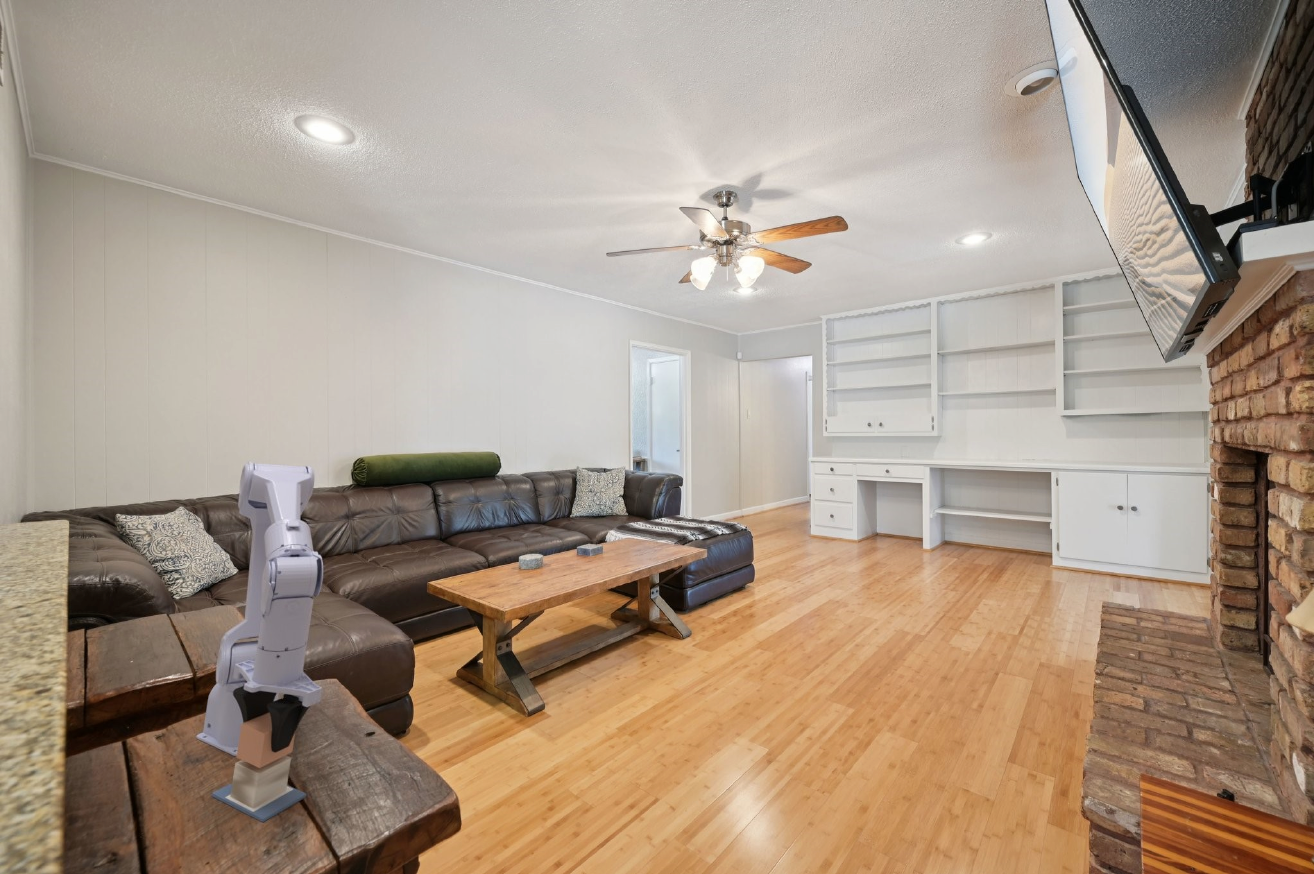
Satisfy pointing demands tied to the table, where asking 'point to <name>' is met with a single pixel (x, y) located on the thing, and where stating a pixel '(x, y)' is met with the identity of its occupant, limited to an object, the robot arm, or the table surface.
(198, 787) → the table surface
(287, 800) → the blue flat board
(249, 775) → the cream block
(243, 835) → the table surface
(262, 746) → the terracotta block
